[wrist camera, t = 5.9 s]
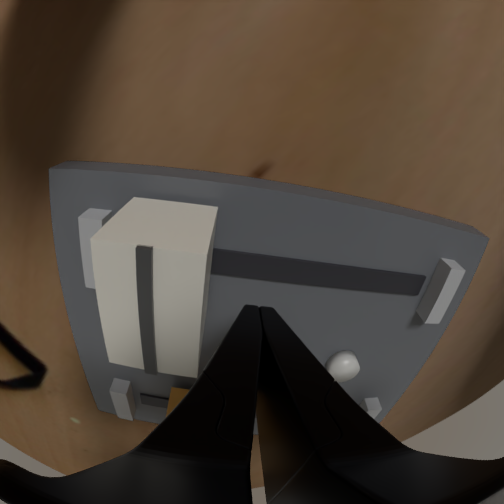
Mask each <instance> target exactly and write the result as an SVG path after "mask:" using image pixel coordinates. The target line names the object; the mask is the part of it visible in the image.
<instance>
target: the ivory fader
mask: <svg viewBox="0 0 504 504" xmlns="http://www.w3.org/2000/svg"><path fill="white" fill-rule="evenodd" d="M217 212H218V207H215V206H207V205H199V204H191V203H183V202H175V201H166V200H157V199H148V198H138V197H133V198H132V199H131V200H130V201H129V202H128V203H127V204H126V205H125V206H124V207H122V208H121V209H120V210H119V211H118V212H117V213H116V214H115V215H114V216H113V217H112V218H111V219H110V220H109V221H108V222H107V223H106V224H105V225H104V226H103V227H102V228H101V229H100V230H99V231H98V232H97V233H96V234H95V235H94V236H93V237H92V238H91V239H90V242H91V254H92V264H93V272H94V281H95V288H96V295H97V302H98V308H99V314H100V320H101V325H102V330H103V335H104V340H105V345H106V350H107V354H108V359H109V362H111V363H115V364H119V365H124V366H129V367H134V368H139V369H144V371H145V373H146V374H152V375H157V372H160V373H166V374H172V375H179V376H186V377H193V378H197V375H198V367H199V360H200V353H201V346H202V339H203V332H204V325H205V318H206V312H207V301H208V291H209V281H210V272H211V263H212V254H213V245H214V237H215V228H216V220H217Z"/></svg>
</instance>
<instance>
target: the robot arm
mask: <svg viewBox="0 0 504 504" xmlns="http://www.w3.org/2000/svg"><path fill="white" fill-rule="evenodd" d="M334 380H335V379H334V378H333V377H332V375H331V374H330V373H329V372H328V371H327V370H326V368H325V367H324V366H323V365H322V364H321V363H320V362H319V360H318V359H317V358H316V357H315V356H314V355H313V353H312V352H311V351H310V350H309V349H308V348H307V346H306V345H305V344H304V343H303V342H302V341H301V339H300V338H299V337H298V336H297V335H296V334H295V332H294V331H293V330H292V329H291V328H290V327H289V325H288V324H287V323H286V322H285V321H284V320H283V318H282V317H281V316H280V315H279V314H278V312H277V311H276V310H275V309H274V308H273V307H267V306H260V307H258V306H257V305H248V304H246V305H244V306H243V308H242V310H241V311H240V313H239V314H238V316H237V318H236V319H235V321H234V322H233V324H232V326H231V327H230V329H229V330H228V332H227V333H226V335H225V337H224V338H223V340H222V341H221V343H220V345H219V346H218V348H217V349H216V351H215V352H214V354H213V355H212V357H211V359H210V360H209V362H208V363H207V365H206V366H205V368H204V370H203V371H202V373H201V374H200V375H199V377H198V378H197V380H196V382H195V383H194V384H193V386H192V387H191V389H190V390H189V391H188V393H187V394H186V395H185V397H184V398H183V399H182V400H181V401H180V402H179V404H178V405H177V406H176V407H175V408H174V409H173V410H172V411H171V412H170V414H169V415H168V416H167V417H166V418H165V419H164V420H163V421H162V422H161V423H160V424H159V425H158V426H157V427H156V428H155V429H154V430H153V431H152V432H151V433H150V434H149V436H148V437H147V438H146V439H145V440H143V441H142V442H141V443H140V444H139V445H138V446H137V447H135V448H134V449H133V450H131V451H130V452H128V453H126V454H124V455H122V456H119V457H117V458H114V459H112V460H109V461H107V462H104V463H102V464H99V465H96V466H94V467H91V468H88V469H86V470H83V471H80V472H77V473H74V474H71V475H68V476H63V477H44V476H40V475H37V474H34V473H32V472H29V471H27V470H26V469H23V468H21V467H20V466H17V465H15V464H14V463H11V462H9V461H7V460H3V459H0V499H1V500H2V501H4V502H6V503H7V504H253V503H252V492H251V480H250V461H251V450H252V442H253V432H254V423H255V413H256V417H257V426H258V435H259V444H260V452H261V461H262V469H263V478H264V486H265V494H266V502H267V504H504V457H502V458H500V459H495V460H473V459H464V458H455V457H449V456H441V455H435V454H429V453H424V452H419V451H416V450H413V449H411V448H409V447H407V446H405V445H404V444H402V443H401V442H400V441H398V440H397V439H396V438H395V437H394V436H393V435H391V434H390V433H389V432H388V431H387V430H386V429H385V428H384V427H382V426H381V425H380V424H379V423H378V422H377V421H376V420H375V419H373V418H372V417H371V416H370V415H369V414H368V413H367V412H366V411H365V410H364V409H363V408H362V407H360V406H359V405H358V404H357V403H356V402H355V401H354V400H353V399H352V398H351V396H350V395H349V394H348V393H347V392H346V391H345V390H344V389H343V388H342V387H341V386H340V384H339V383H338V382H337V381H334Z"/></svg>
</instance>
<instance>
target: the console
mask: <svg viewBox="0 0 504 504" xmlns="http://www.w3.org/2000/svg"><path fill="white" fill-rule="evenodd" d="M49 189H50V205H51V217H52V227H53V236H54V244H55V251H56V258H57V264H58V270H59V275H60V281H61V286H62V291H63V296H64V300H65V305H66V309H67V313H68V317H69V321H70V325H71V329H72V333H73V336H74V340H75V343H76V347H77V350H78V353H79V357H80V360H81V363H82V366H83V369H84V372H85V375H86V378H87V381H88V384H89V386H90V389H91V392H92V394H93V397H94V400H95V402H96V405H97V407H98V410H100V411H104V412H108V413H112V414H116V415H117V416H118V418H122V419H126V420H131V421H133V420H134V419H137V420H142V421H147V422H152V423H157V424H160V423H161V422H162V421H163V420H164V419H165V418H166V413H167V408H168V402H169V397H170V392H171V387H175V388H182V389H189V390H190V389H191V387H192V386H193V384H194V383H195V382H196V380H197V378H198V377H199V375H200V374H201V373H202V371H203V370H204V368H205V366H206V365H207V363H208V362H209V360H210V359H211V357H212V355H213V354H214V352H215V351H216V349H217V348H218V346H219V345H220V343H221V341H222V340H223V338H224V337H225V335H226V333H227V332H228V330H229V329H230V327H231V326H232V324H233V322H234V321H235V319H236V318H237V316H238V314H239V313H240V311H241V310H242V308H243V306H244V305H246V304H248V305H257V306H258V307H260V306H267V307H273V308H274V309H275V310H276V311H277V312H278V314H279V315H280V316H281V317H282V318H283V320H284V321H285V322H286V323H287V324H288V325H289V327H290V328H291V329H292V330H293V331H294V332H295V334H296V335H297V336H298V337H299V338H300V339H301V341H302V342H303V343H304V344H305V345H306V346H307V348H308V349H309V350H310V351H311V352H312V353H313V355H314V356H315V357H316V358H317V359H318V360H319V362H320V363H321V364H322V365H323V366H324V367H325V368H326V370H327V371H328V372H329V373H330V374H331V375H332V377H333V378H334V379H335V380H334V381H337V382H338V383H339V384H340V386H341V387H342V388H343V389H344V390H345V391H346V392H347V393H348V394H349V395H350V396H351V398H352V399H353V400H354V401H355V402H356V403H357V404H358V405H359V406H360V407H362V408H363V409H364V410H365V411H366V412H367V413H368V414H369V415H370V416H371V417H372V418H373V419H375V420H376V421H377V422H378V423H380V422H381V421H382V419H383V418H384V417H385V416H386V415H387V413H388V412H389V411H390V410H391V408H392V407H393V406H394V405H395V403H396V402H397V401H398V399H399V398H400V397H401V396H402V394H403V393H404V392H405V390H406V389H407V388H408V386H409V385H410V383H411V382H412V381H413V379H414V378H415V376H416V375H417V374H418V372H419V371H420V369H421V368H422V366H423V365H424V363H425V362H426V360H427V359H428V357H429V356H430V354H431V353H432V351H433V349H434V348H435V346H436V345H437V343H438V341H439V340H440V338H441V336H442V335H443V333H444V331H445V330H446V328H447V326H448V324H449V323H450V321H451V319H452V317H453V316H454V314H455V312H456V310H457V308H458V306H459V304H460V302H461V301H462V299H463V297H464V295H465V293H466V291H467V289H468V287H469V284H470V282H471V280H472V278H473V276H474V274H475V272H476V269H477V267H478V265H479V263H480V260H481V258H482V256H483V253H484V251H485V248H486V246H487V243H488V241H489V238H488V237H487V236H485V235H484V234H483V233H481V232H480V231H479V230H477V229H476V228H474V227H473V226H469V225H466V224H463V223H459V222H456V221H452V220H449V219H445V218H442V217H438V216H435V215H431V214H427V213H423V212H420V211H416V210H412V209H408V208H404V207H400V206H396V205H391V204H387V203H383V202H379V201H374V200H370V199H365V198H361V197H356V196H352V195H347V194H342V193H337V192H332V191H327V190H322V189H317V188H311V187H306V186H300V185H295V184H289V183H283V182H277V181H271V180H265V179H258V178H252V177H245V176H238V175H231V174H223V173H215V172H207V171H199V170H190V169H181V168H171V167H161V166H150V165H137V164H124V163H108V162H88V161H65V162H63V163H60V164H58V165H56V166H53V167H51V168H49ZM133 197H138V198H148V199H157V200H166V201H175V202H183V203H191V204H199V205H207V206H215V207H218V212H217V220H216V228H215V237H214V245H213V254H212V263H211V272H210V281H209V291H208V301H207V312H206V318H205V325H204V332H203V339H202V346H201V353H200V360H199V367H198V375H197V378H193V377H186V376H179V375H172V374H166V373H160V372H157V375H152V374H146V373H145V371H144V369H139V368H134V367H129V366H124V365H119V364H115V363H111V362H109V359H108V354H107V350H106V345H105V340H104V335H103V330H102V325H101V320H100V314H99V308H98V302H97V295H96V288H95V281H94V272H93V264H92V254H91V242H90V239H91V238H92V237H93V236H94V235H95V234H96V233H97V232H98V231H99V230H100V229H101V228H102V227H103V226H104V225H105V224H106V223H107V222H108V221H109V220H110V219H111V218H112V217H113V216H114V215H115V214H116V213H117V212H118V211H119V210H120V209H121V208H122V207H124V206H125V205H126V204H127V203H128V202H129V201H130V200H131V199H132V198H133ZM253 434H257V435H258V426H257V417H256V413H255V423H254V432H253Z"/></svg>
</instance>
